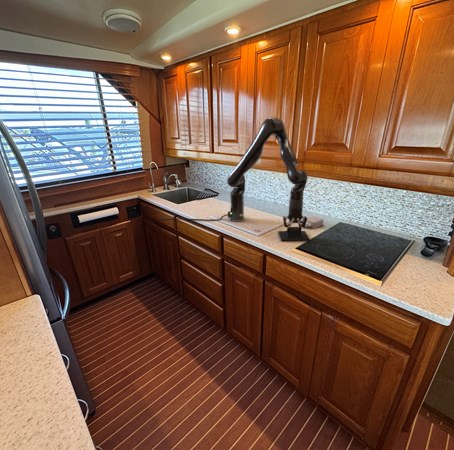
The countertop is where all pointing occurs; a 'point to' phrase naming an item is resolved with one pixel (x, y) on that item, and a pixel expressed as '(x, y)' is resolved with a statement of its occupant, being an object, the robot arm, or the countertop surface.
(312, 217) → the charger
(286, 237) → the base pad
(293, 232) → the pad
